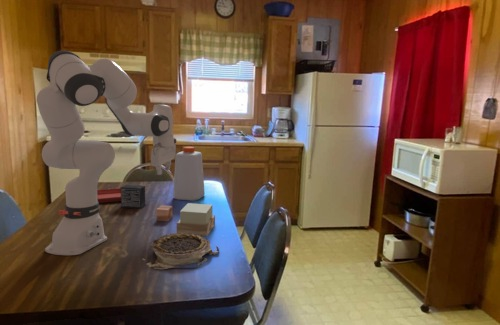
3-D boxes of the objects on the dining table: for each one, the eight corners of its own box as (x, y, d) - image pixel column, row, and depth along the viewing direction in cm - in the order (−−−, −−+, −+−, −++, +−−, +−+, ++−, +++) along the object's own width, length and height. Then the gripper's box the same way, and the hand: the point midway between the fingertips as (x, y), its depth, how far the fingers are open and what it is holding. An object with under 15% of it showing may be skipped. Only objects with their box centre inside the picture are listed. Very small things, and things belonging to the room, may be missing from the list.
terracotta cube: (168, 221, 164) (168, 209, 163) (156, 220, 165) (156, 209, 164) (172, 217, 169) (172, 206, 168) (161, 216, 170) (161, 205, 169)
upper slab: (206, 224, 149) (206, 213, 148) (180, 222, 150) (180, 211, 149) (212, 215, 160) (212, 204, 159) (188, 213, 161) (188, 203, 160)
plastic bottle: (182, 192, 211) (182, 144, 206) (206, 194, 207) (207, 146, 202) (170, 199, 197) (169, 148, 191) (196, 202, 193) (196, 150, 187)
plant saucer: (92, 195, 201) (92, 189, 200) (126, 193, 208) (126, 187, 207) (92, 205, 184) (92, 199, 184) (129, 202, 191) (129, 196, 191)
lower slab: (207, 237, 149) (207, 225, 148) (176, 234, 151) (176, 223, 150) (214, 225, 161) (215, 215, 160) (186, 223, 163) (186, 212, 162)
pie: (131, 270, 120) (131, 256, 119) (151, 238, 146) (151, 226, 146) (216, 271, 120) (216, 257, 119) (221, 239, 147) (221, 228, 146)
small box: (146, 204, 186) (145, 185, 184) (141, 208, 180) (140, 188, 178) (126, 203, 187) (125, 184, 185) (120, 207, 181) (119, 187, 179)
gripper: (160, 145, 149) (161, 178, 152) (177, 139, 169) (178, 167, 172) (146, 144, 150) (147, 177, 153) (165, 138, 170) (165, 167, 173)
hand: (163, 172), depth 163 cm, fingers open, 8 cm apart
